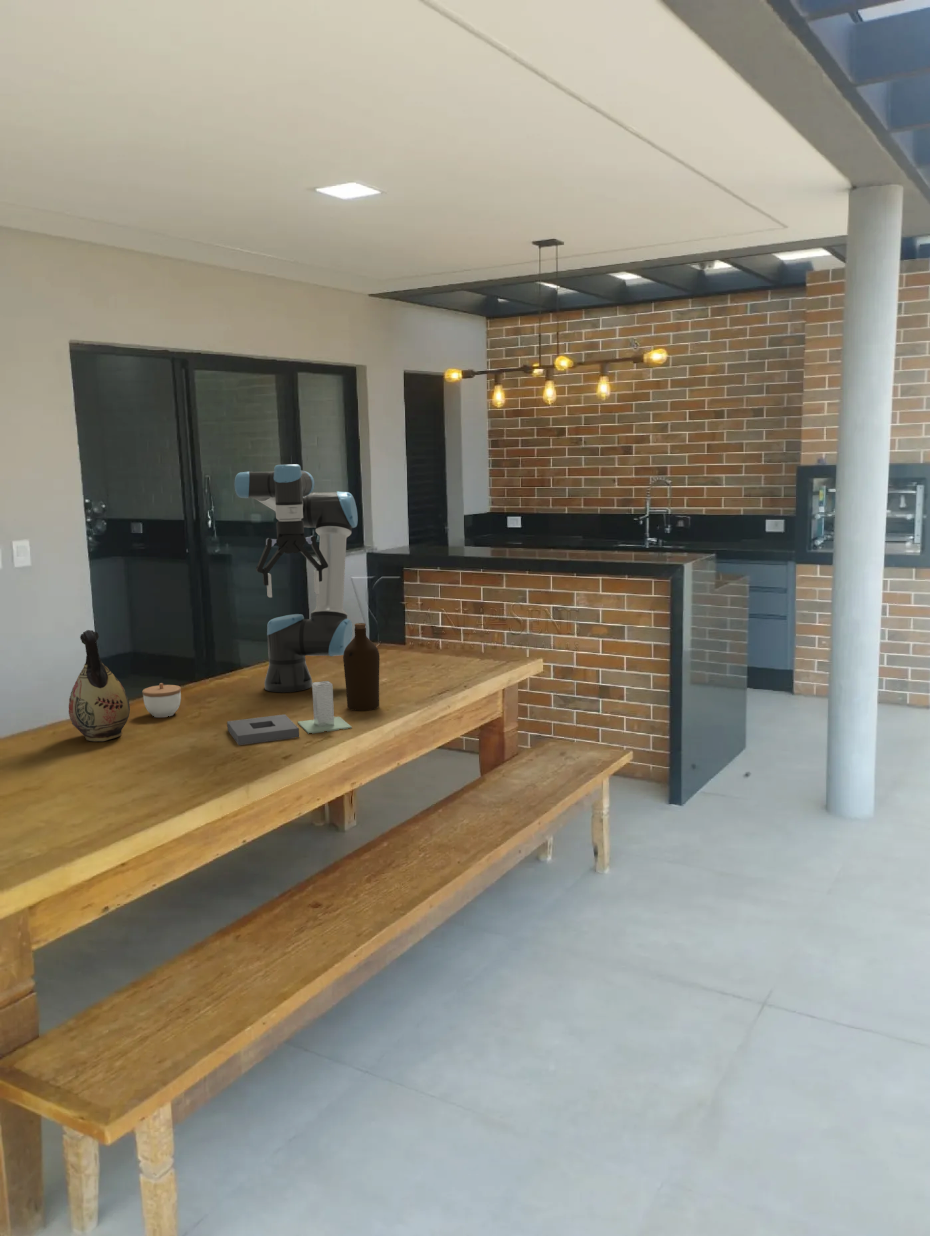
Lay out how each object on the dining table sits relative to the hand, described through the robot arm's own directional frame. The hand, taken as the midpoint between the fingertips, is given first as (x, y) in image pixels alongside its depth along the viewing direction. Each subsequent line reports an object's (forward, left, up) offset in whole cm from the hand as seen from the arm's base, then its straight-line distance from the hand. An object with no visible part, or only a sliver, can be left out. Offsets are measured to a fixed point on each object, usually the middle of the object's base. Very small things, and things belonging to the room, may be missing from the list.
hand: (293, 595), depth 284 cm
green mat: (+16, +3, -35) cm, 38 cm away
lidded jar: (-18, -36, -35) cm, 53 cm away
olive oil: (+1, +19, -35) cm, 40 cm away
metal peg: (+16, +3, -34) cm, 38 cm away
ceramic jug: (0, -54, -35) cm, 64 cm away
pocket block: (+16, -14, -35) cm, 41 cm away
